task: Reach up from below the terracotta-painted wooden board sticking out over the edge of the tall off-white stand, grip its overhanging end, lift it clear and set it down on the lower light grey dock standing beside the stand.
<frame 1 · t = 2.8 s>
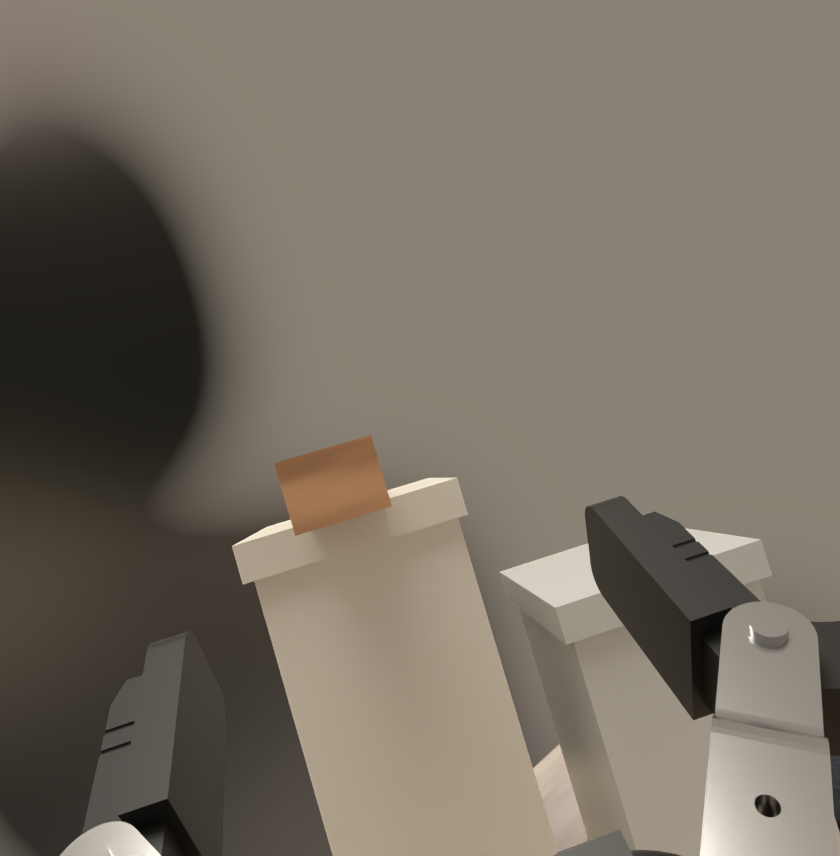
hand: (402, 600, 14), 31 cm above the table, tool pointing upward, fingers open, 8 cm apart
board: (346, 508, 39), point 32 cm above the table, touching stand
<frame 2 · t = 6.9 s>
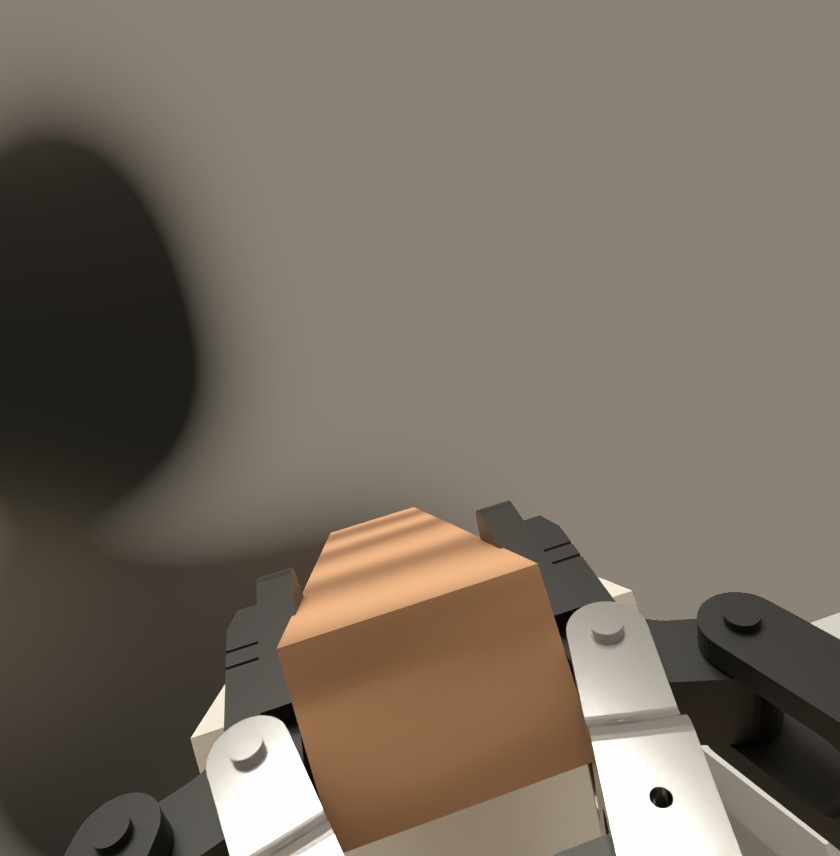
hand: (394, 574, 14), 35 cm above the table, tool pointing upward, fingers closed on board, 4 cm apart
board: (409, 636, 21), point 32 cm above the table, touching gripper, stand
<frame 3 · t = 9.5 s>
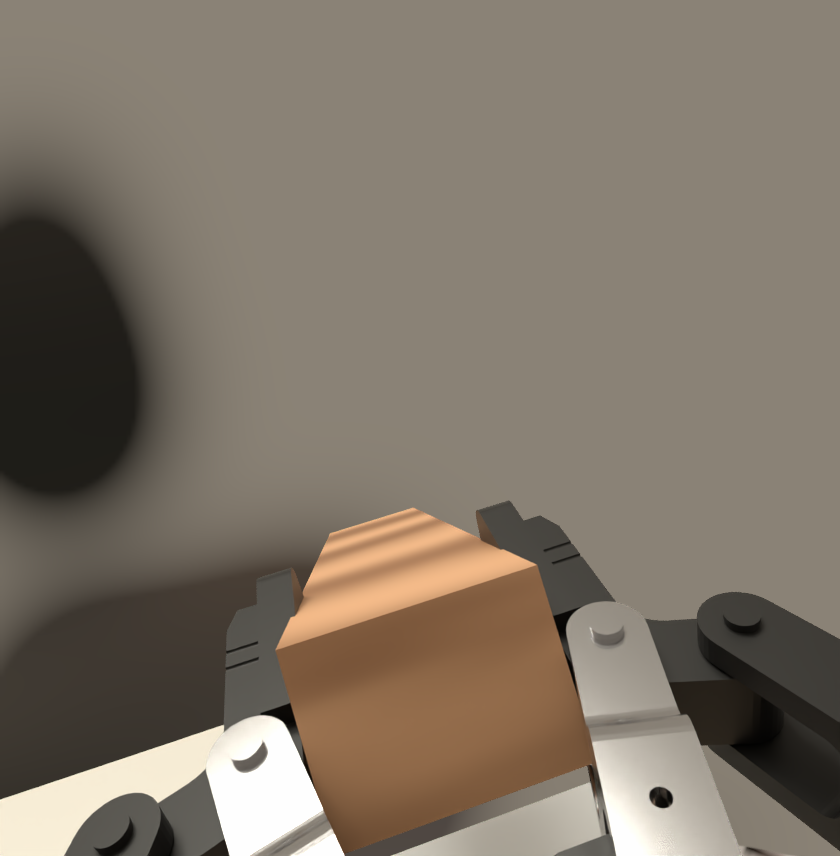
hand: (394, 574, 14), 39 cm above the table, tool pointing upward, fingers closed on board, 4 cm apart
board: (409, 636, 21), point 36 cm above the table, touching gripper
when the fingers open (28 cm above the table, at t = 12.2 s): board drops 1 cm, resting on dock.
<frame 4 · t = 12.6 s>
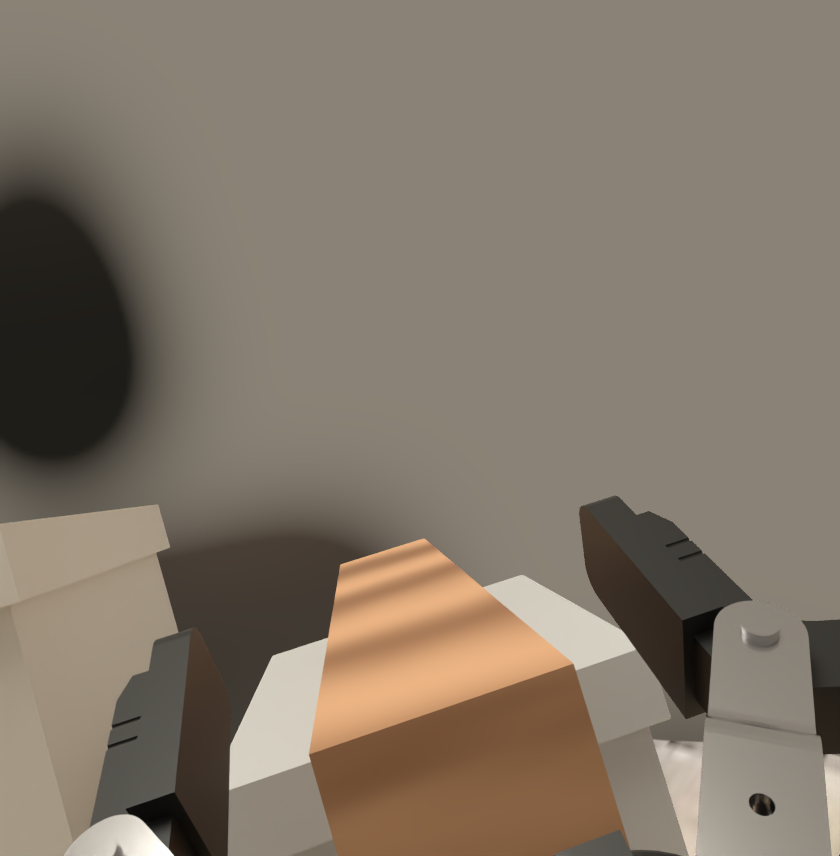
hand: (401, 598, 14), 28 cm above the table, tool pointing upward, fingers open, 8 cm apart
board: (425, 685, 21), point 24 cm above the table, touching dock
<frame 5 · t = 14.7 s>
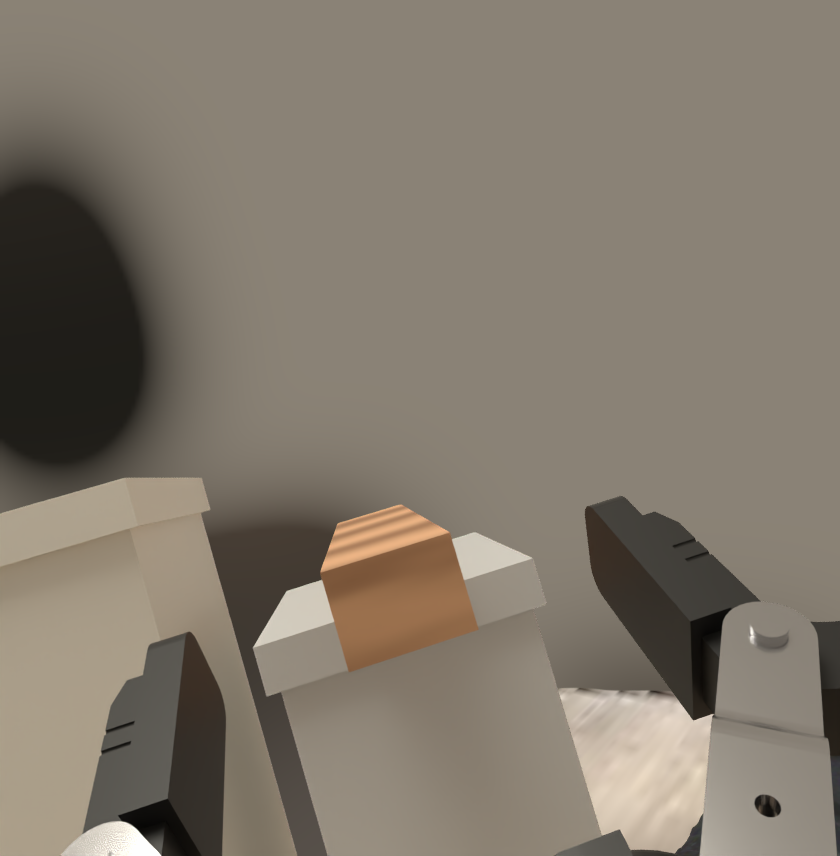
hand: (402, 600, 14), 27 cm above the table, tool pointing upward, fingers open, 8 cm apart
board: (393, 590, 31), point 24 cm above the table, touching dock
dark slate chunk: (827, 845, 43), on the table
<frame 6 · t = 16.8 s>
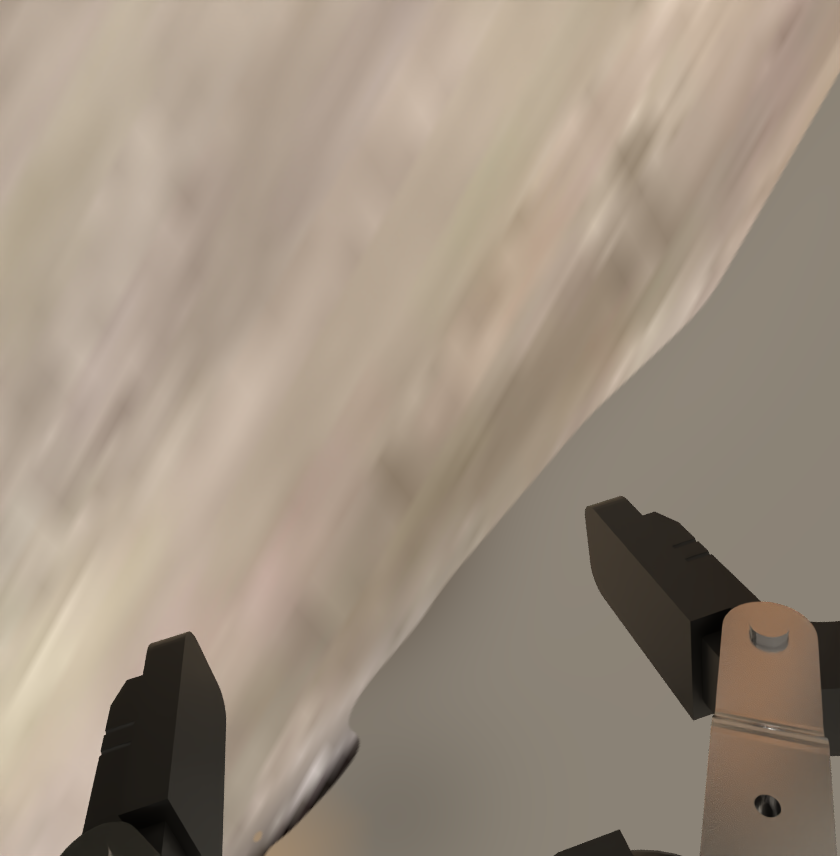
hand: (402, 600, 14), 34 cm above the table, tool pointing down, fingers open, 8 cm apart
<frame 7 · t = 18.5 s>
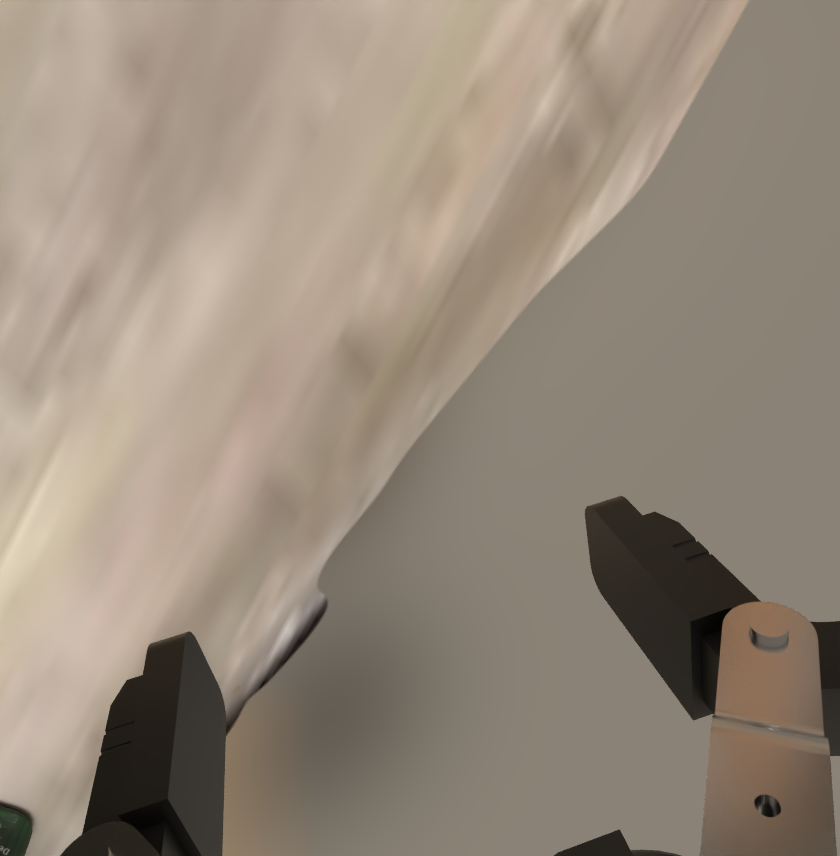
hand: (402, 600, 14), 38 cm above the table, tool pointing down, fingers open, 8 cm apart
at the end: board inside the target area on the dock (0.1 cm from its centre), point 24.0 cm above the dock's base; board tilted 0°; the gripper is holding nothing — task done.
